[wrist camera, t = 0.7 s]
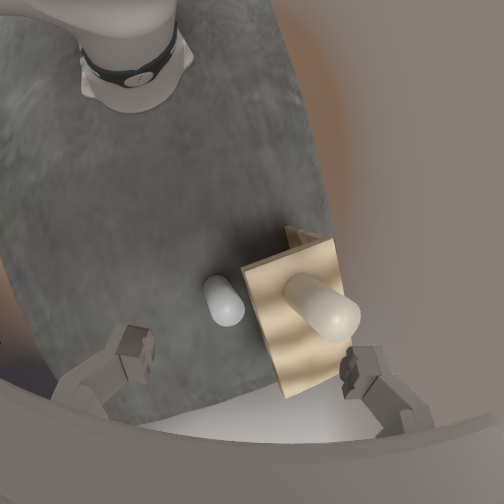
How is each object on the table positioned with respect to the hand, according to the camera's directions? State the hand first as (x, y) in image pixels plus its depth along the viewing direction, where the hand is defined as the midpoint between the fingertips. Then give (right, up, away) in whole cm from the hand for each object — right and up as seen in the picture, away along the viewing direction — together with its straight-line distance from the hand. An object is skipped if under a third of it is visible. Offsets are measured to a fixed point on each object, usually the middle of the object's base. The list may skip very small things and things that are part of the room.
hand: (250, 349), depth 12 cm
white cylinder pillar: (-6, -2, +38) cm, 38 cm away
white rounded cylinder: (+6, -1, +26) cm, 27 cm away
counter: (+4, -3, +41) cm, 41 cm away
